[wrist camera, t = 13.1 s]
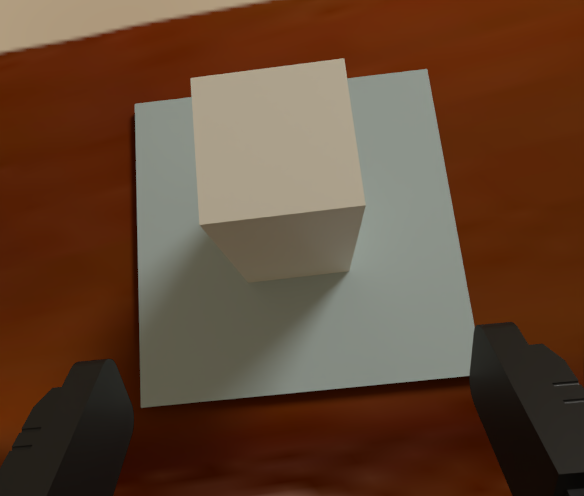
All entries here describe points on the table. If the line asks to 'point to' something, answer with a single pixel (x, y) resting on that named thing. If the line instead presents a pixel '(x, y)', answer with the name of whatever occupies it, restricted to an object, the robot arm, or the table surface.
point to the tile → (309, 289)
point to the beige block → (279, 169)
